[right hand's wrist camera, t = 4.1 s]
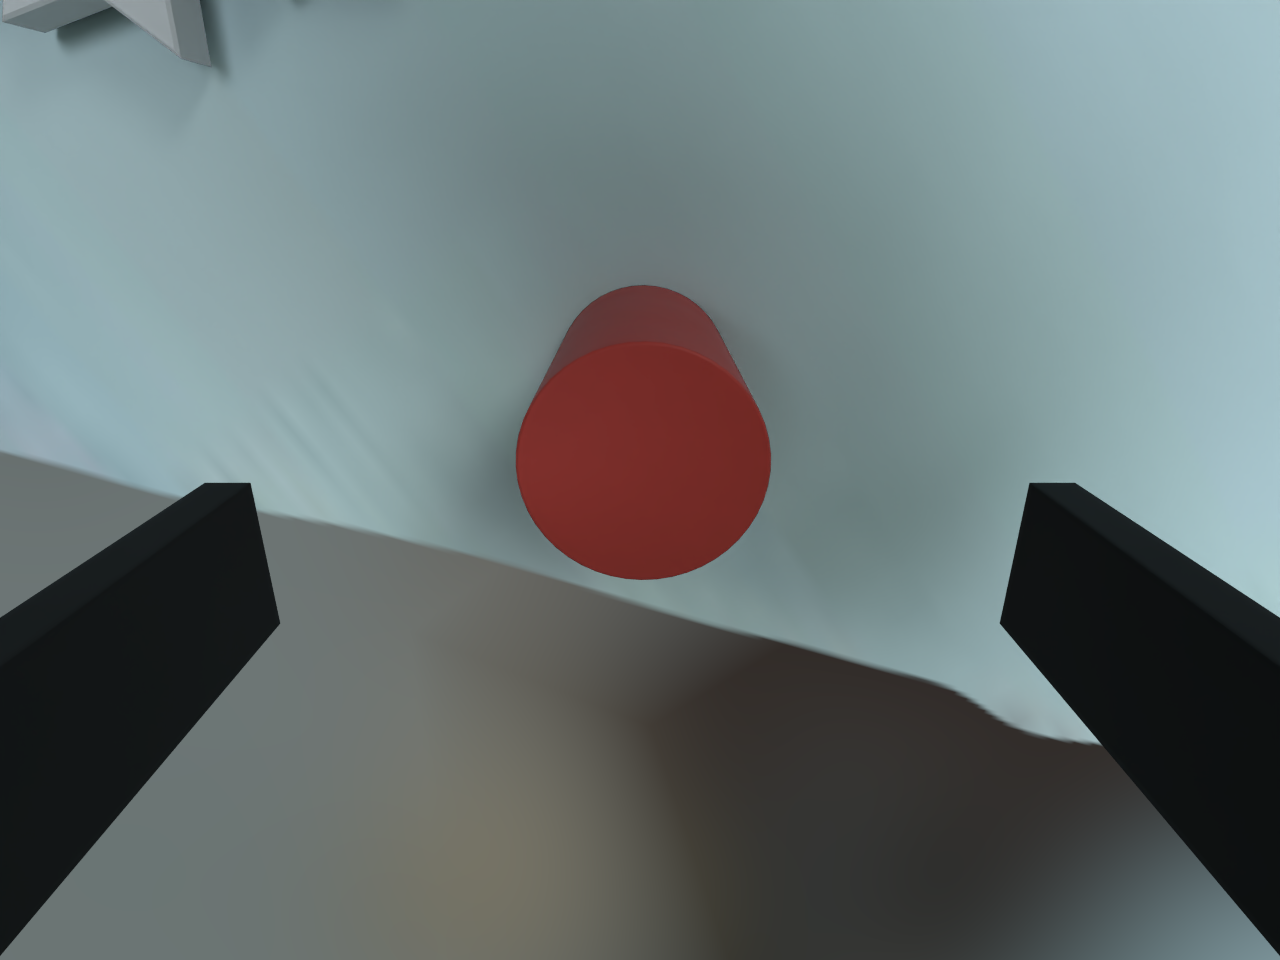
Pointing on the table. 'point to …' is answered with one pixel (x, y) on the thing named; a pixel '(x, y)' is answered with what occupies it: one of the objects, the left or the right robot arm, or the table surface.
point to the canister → (643, 440)
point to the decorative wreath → (153, 3)
